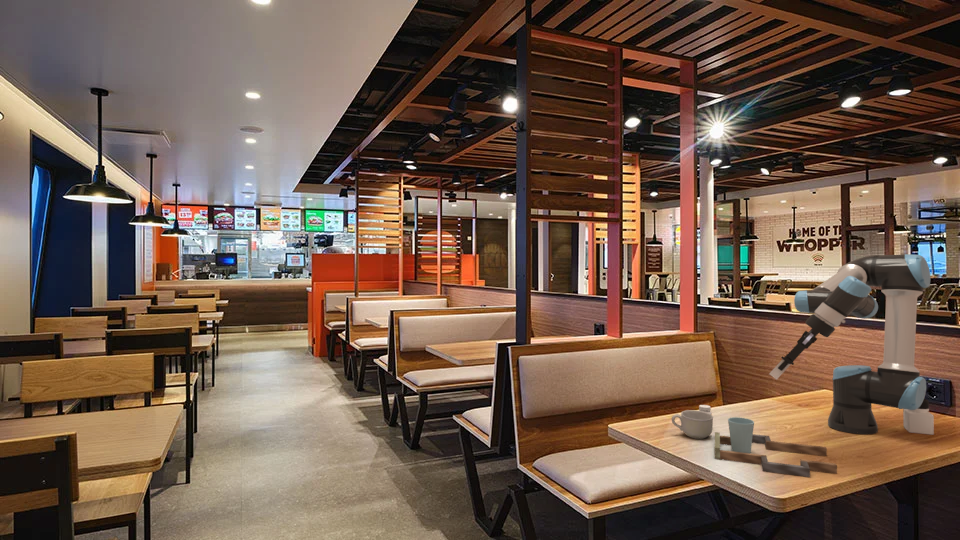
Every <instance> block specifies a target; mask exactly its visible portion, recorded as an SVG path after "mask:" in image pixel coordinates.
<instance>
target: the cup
mask: <svg viewBox="0 0 960 540" xmlns="http://www.w3.org/2000/svg"><path fill="white" fill-rule="evenodd" d="M727 424H728V430H729V437H730V439H731V445H730V446H731V451H734V452H742V453H751V454H752V446H753V445H752V444H753V443H752V436H753V434H754V428H755V421H754V420H752V419H750V418H745V417H740V416H739V417H737V416H735V417H729V418H727Z"/></svg>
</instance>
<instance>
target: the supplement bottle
mask: <svg viewBox="0 0 960 540" xmlns="http://www.w3.org/2000/svg"><path fill="white" fill-rule="evenodd" d="M698 409H699V410H698V411H703V412H706V413H709V414H711V415H712V416H713V414H712V413H713V412H712V411H711V409H712V408H711V406H710V405H707V404H700V405H699V406H698Z"/></svg>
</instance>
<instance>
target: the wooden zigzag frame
mask: <svg viewBox="0 0 960 540" xmlns="http://www.w3.org/2000/svg"><path fill="white" fill-rule="evenodd" d="M724 444H727V445H726V446H731V439H730V435H727V436H726V435H721V434H720V432H718V431H716V432H714V459H715V458H717V459H716V460H722V459H724V460H723V461H730V462H737V463H739V462H740V463H746V464H754V465H755V464H756V465H760V466H761V469H762V472H765V473H766V472H767V473H773V474H782V475H790V476H798V477H805V478H811V472H817V473H818V472H819V473H826V474H827V473H828V474H835V475H837V474H838V465H837V463H834V462H825V461H818V460H808V459H800V461H799V462H800V463H799V465H796V464H791V463H788V464H787V463H782V462H781V463H780V462H773V461H768V457H767V455H764V454H758V453H752V452H751V453H742V452H734V451H732V450H723V449H721V445H724ZM752 444H762V445H764V446H765V450H769V451H776V452H777V451H778V452H785V453H786V452H787V453H794V454H795V453H796V454H805V455H811V456H820V457H821V456H822V457H827V456H828V452H827V450H828V448H827V447H826V446H821V445H811V444H804V443H803V444H802V443H801V444H800V443H791V442H783V441H782V442H781V441H773V440H771V437H770V435H765V434H754V433H753V436H752Z"/></svg>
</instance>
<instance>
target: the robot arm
mask: <svg viewBox="0 0 960 540" xmlns="http://www.w3.org/2000/svg"><path fill="white" fill-rule="evenodd" d="M930 285H931V271H930V267H929V264H928V262H927V260H926V258H925V257H924V256H922V255H920V254H907V253H904V254H881V255H880V254H872V255H867V256H862V257H859V258H857V259H853V260H851V261H849V262H847V263H845V264H843V265H842V266H841V267H839V268H838V270H837V272H836V273H835V274H834V275H832V276H831V277H829V278H828V279H826V280H825V281H824V282H822V283H821V284H819V285H818V286H816V287H814V288H813V289H812V290H807V289H806V290H798V291H797V292H796V293H795V296H794V298H793V299H794V300H793V302H794V308H795V310H796V311H797V312H799V313H807V314H810V316H809V317H808V318H807V319H806V320H805V324H806V325H807V326H808V327H809V328H811V329H810V330H805V331H804V332H803V333H802V335H801V337H800V338H798V340H797V342H796V345H795V346H794V347H793V348H792V349H791V350H790V351H789V352H788V353H787V354H785V356H781V357H780V358H781V361H779V362H778V363H777V365H775V367H774V368H773V369H772V370H771V371H770V372H769V374H768V375H769V376H771V377H773V378H774V379H775V380H778V379H779V378H780V377H781V375H783V373H785V371H787V369H788V368H789V367H790V366H791V365H793V366H794V364H795V363H794V361H795V360H796V359H797V358H799V356H800V355H801V353H802V352H803V351H804V350H807V349H809V348H810V347H811V346H812V344H815V342H816V341H817V340H818V337H817V336H818V335H821V336H823V337H825V338H829V337H830V336H831V335H832V334H833V333H834V332H835V331H836V328H838V327H839V326H840V325H841V324H845V323H846V319H847V317H848V316H854V317H857V318H859V319H871V318H872V317H874V316H875V315H876V314H877V312H878V310H879V305H878V302H877V300H876V299H875V298H874V297H873V296H872V295H870V293H871V292H872V287H874V288H875V287H876V288H880V289H881V293H883V294H884V296H885V300H886V301H885V316H884V317H885V318H884V337H883V338H884V339H883V341H884V342H883V361H882V363H881V364H879V365H878V366H877V371H875V370H872V367H871V366H870V365H864V364H863V365H861V364H859V365H858V364H857V365H854V364H853V365H852V364H851V365H841V366H836V367H835V368H834V369H833V372H832V373H833V374H832V398H833V402H832V403H833V405H832V408H831V409H830V410H831V411H830V413H829V415H828V417H827V418H828V419H827V426H828V427H830V428H831V429H833V430H836V431H839V432H842V433H849V434H855V435H873V434H877V433H879V432H878V431H879V430H878V429H879V427H878V426H879V425H878V422H877V421H876V418H875V417H876V416H875V415H874V412H873V410H872V408H873V407H872V404H873V405H878V406H883V407H888V408H889V407H890V408H895V409H899V410H903V409H908V410H916V409H918V408H919V407H920V406H921V404H922V402H923V400H924V399H925V396H926V391H927V381H926V378H924V377H923V376H920V374H921V373H920V372H921V371H920V370H919V369H918V368H917V367H916V366H915V355H916V353H915V351H916V331H917V311H918V310H917V309H918V308H917V307H918V298H919V297H920V296H921V295H923V293H924V289H926V288H930Z"/></svg>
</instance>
